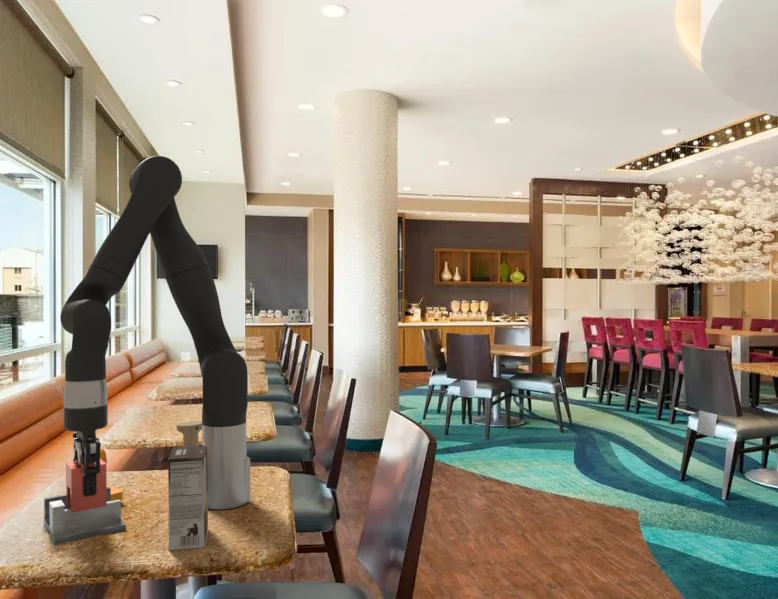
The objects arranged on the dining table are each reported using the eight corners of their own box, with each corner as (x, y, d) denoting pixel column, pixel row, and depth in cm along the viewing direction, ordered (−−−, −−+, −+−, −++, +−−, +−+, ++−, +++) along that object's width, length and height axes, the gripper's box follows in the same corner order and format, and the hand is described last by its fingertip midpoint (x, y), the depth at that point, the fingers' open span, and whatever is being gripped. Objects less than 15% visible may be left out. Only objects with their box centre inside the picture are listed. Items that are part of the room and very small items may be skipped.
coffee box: (173, 532, 116) (172, 446, 116) (209, 529, 118) (208, 444, 118) (167, 551, 107) (166, 458, 107) (206, 547, 109) (205, 455, 109)
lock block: (100, 498, 122) (99, 457, 122) (106, 506, 117) (106, 463, 117) (66, 504, 119) (65, 462, 119) (71, 512, 114) (71, 469, 114)
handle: (173, 489, 144) (172, 424, 144) (196, 482, 149) (196, 420, 149) (185, 492, 141) (184, 426, 141) (209, 486, 146) (208, 422, 146)
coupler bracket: (109, 510, 129) (109, 481, 129) (125, 529, 118) (125, 498, 118) (44, 522, 122) (43, 492, 122) (54, 544, 111) (54, 511, 111)
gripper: (115, 406, 115) (116, 497, 114) (99, 397, 126) (99, 479, 126) (70, 410, 110) (71, 505, 110) (58, 400, 122) (58, 486, 122)
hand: (86, 491), depth 118 cm, fingers closed on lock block, 6 cm apart
